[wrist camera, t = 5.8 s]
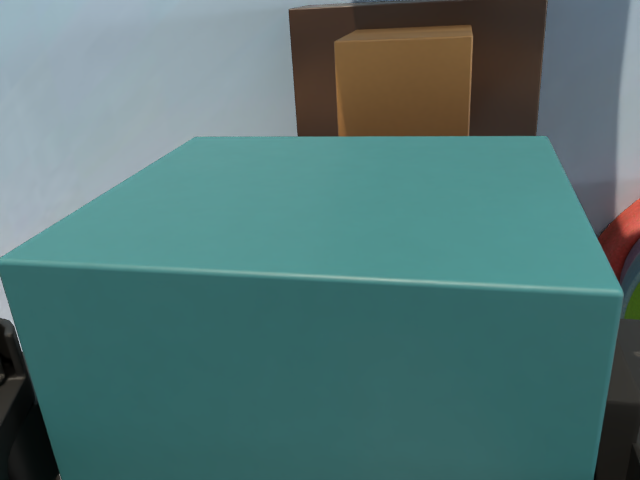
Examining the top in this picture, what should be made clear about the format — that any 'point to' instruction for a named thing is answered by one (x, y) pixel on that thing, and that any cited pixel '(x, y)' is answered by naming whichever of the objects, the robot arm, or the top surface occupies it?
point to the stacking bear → (625, 257)
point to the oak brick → (404, 81)
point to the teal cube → (323, 315)
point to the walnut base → (426, 11)
